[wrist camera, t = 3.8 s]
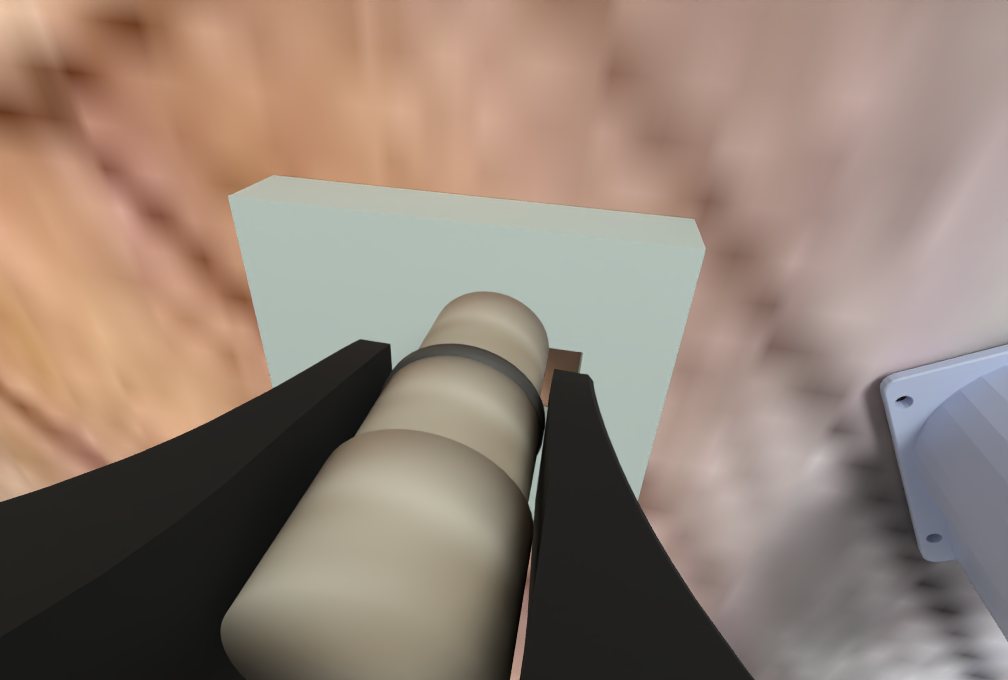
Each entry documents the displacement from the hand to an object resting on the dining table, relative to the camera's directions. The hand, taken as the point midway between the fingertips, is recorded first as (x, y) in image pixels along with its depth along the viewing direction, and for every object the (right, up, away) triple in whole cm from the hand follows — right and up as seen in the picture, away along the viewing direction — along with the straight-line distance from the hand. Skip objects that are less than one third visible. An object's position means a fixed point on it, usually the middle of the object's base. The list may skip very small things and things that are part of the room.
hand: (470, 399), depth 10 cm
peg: (0, +1, +2) cm, 2 cm away
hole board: (-1, +1, +10) cm, 10 cm away
